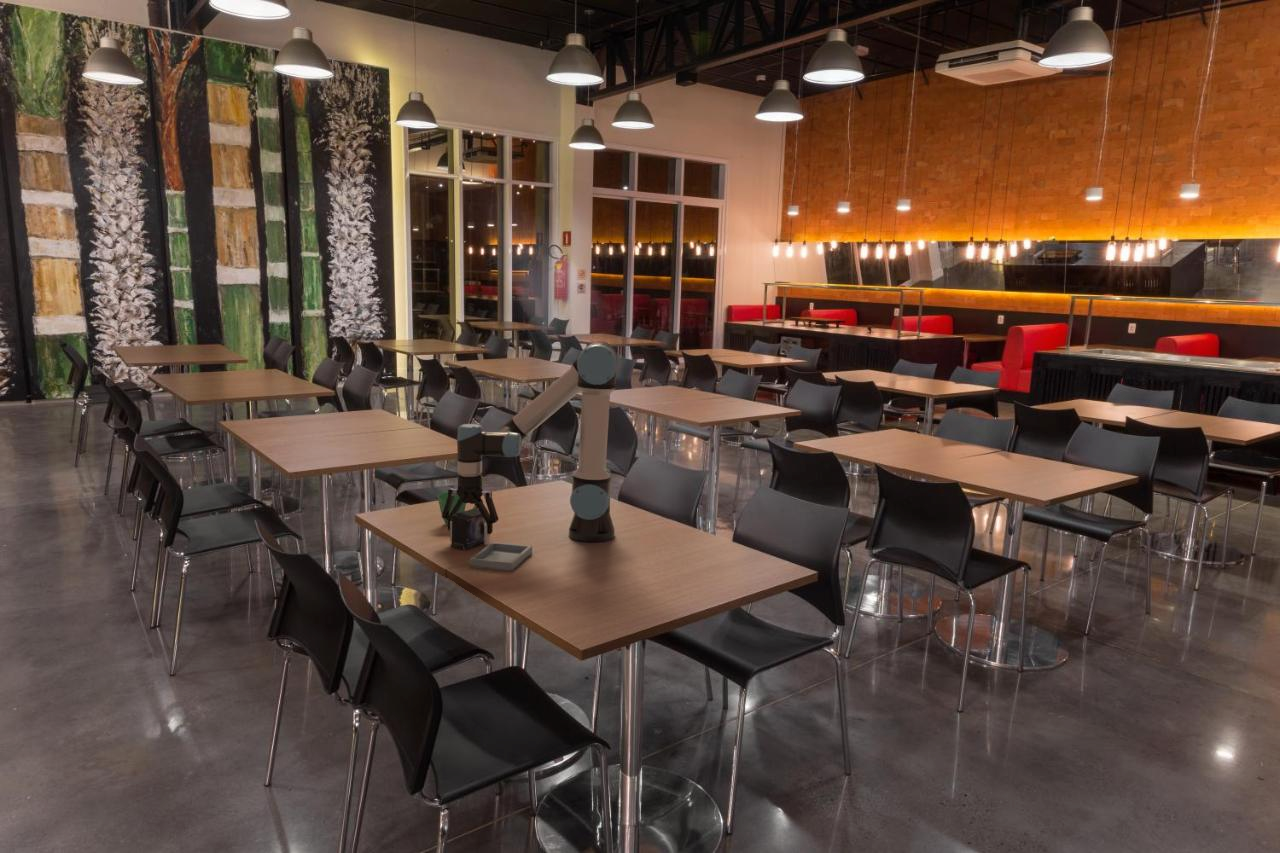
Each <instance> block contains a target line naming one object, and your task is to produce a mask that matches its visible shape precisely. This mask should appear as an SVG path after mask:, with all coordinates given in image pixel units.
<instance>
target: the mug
mask: <svg viewBox="0 0 1280 853" xmlns="http://www.w3.org/2000/svg"><path fill="white" fill-rule="evenodd" d="M447 498H448V492H444V493H440V494H438V496H437V501H438V505H439V510H440V514H441V515H442V513H443V510H444V507H445V504H446V501H447ZM459 498H460V497H459V496H458V494H457V493H456V495H455V497H454V500H453V503H452V506H451V509H450V512H449V514H450V513H451V511H452V510H453V508H454V507H455V505H456V504H457V501H458V500H459ZM466 506H467V503H463V504H462V506H461V507H460V509H459V510H458V512H457V513H460V512H464V511H466ZM474 508H475V509H478V508H477V506H475V505H474V506H473V507H472V508H471V509H474ZM457 513H456V514H457ZM442 519H443V521H444V524H445V526H447V527H448V521H447V519H445V518H442Z"/></svg>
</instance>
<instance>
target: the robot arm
mask: <svg viewBox="0 0 1280 853" xmlns="http://www.w3.org/2000/svg"><path fill="white" fill-rule="evenodd" d="M618 358H619V357H618V354H617V351H616V350H615V348H614V347H613V346H612V345H611V344H610V343H608V342H605V341H593V342H591V343H589V344H587V345H586V346H585V347H584V348H583V349H582V350H581V351H580V352H579V354H578V356H577V357H576V359H575V360H574V361H572V362H571V363H570V368H569V369H568V370H566V372H564V373H563V374H562V375H561V376H560V377H558V378H557V379H556V380H555V381H553V383H551V384H550V385H549V386H548V387H547V388H546V389H545V390H543V391H542V392H541V393H539V394H538V395H537V396H536V397H535V398H534V399H533V400H531V401H530V402H529V403H528V404H527V405H526V406H525V407H524V408H522V409H521V410H520V411H519V412H518V413H516V414H515V415H514V416H512V418H511V419H510V420H508V421H507V422H506V423H505V424H503V425H502V426H501V427H500V428H499V429H498V430H497V431H484V430H483V427H482V425H481V424H478V423H463V424H461V425H459V427H457V436H456V437H457V439H456V444H457V445H456V446H457V447H456V448H457V474H458V475H457V488H454V487H451V488H449V489H448V490H447V493H448V498H447V501H446V504H445V507H444V510H443V513H442V514H441V518H442V519H443V518H445V519H447V521H448V526H447V530H448V531H450V532H449V533H450V534H449V538H450V539H449V540H450V542H452V515H453V514H456V513H457V512H458V510H459V509H460V507H461V506H462V504H463V503H466V504H471V505H474V506H477V508H478V509H479V511H480V513H481V514H482V516H483V518H484V519H485V521H486V524H485V525H484V544H483V545H484V546H488V545H489V544H490V543H491V534H492V533H493V530H494V527H493V524H496V523H497V522H499V521H500V520H499V517H498V516H499V515H498V512H497V510H496V507H495V504H494V501H493V492H492V491H491V490H489V491H486V490H485V491H484V490H483V475H482V473H483V456H484V457H487V456H488V457H505V458H510V457H519V456H520V455H521V452H522V441H523V440H524V439H526V438H527V437H528V436H529V435H530V434H532V433H533V432H534V431H535V429H536V430H537V428H538V427H539V426H541V425H542V424H543V423H544V422H545V421H546V420H548V419H549V418H550V417H551V416H552V415H554V414H555V413H556V412H558V410H560V409H561V408H562V407H563V406H564V405H566V404H567V403H568V402H570V401H571V399H572V398H574V397H575V396H576V395H578V394H579V392H581V403H580V404H581V408H580V427H579V441H578V442H579V443H578V444H579V447H578V464H577V468H576V469H575V471H574V472H572V483H571V484H572V485H571V486H572V487H571V495H570V497H569V502H570V507H571V509H572V511H573V517H572V520H571V522H570V525H569V527H568V528H569V529H568V536H569V538H570V539H572V540H575V541H578V542H583V543H600V542H601V543H602V542H606V541H609V540H612V539H614V538H615V534H616V533H615V532H616V531H615V526H614V523H613V520H612V517H611V481H612V480H611V479H612V476H611V475H612V473H611V470H610V469H609V468H606V467H607V452H608V451H607V450H608V437H609V436H608V435H609V434H608V433H609V422H610V421H609V419H610V405H611V404H610V402H611V394H612V393H613V392H614V391H615V390H616V383H617V371H618V370H617V368H618V362H619V361H618V360H619V359H618ZM456 493H457V494H458V496H459V497H460V498H459V500H458V501H457V504H456V505H455V507H454V508H453V510H452V511H451V513H450V514H449V512H450V509H451V506H452V503H453V500H454V497H455V495H456ZM482 496H483V498H484V500H485V504H486V506H485V504H484V501H483V499H482Z"/></svg>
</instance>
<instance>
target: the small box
mask: <svg viewBox="0 0 1280 853" xmlns="http://www.w3.org/2000/svg"><path fill="white" fill-rule="evenodd" d="M485 524H486V521H485V519H484V518H483V516H482V514H481V513H480V511H479V509H475V508H474V509H472V508H471V509H466V510H465V511H464V512H460V513H457V514H453V515H452V541H451V547H452V548H456V549H460V550H463V551H467V550H469V549H473V548H476V547H480V546H482V545H484V525H485Z"/></svg>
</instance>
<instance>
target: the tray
mask: <svg viewBox="0 0 1280 853" xmlns="http://www.w3.org/2000/svg"><path fill="white" fill-rule="evenodd" d="M531 555H533V545H525V544H517V543H516V544H515V543H506V542H499V541H497V542H496V541H492V542H490V543H489V544H487V545H486V546H485V547H484V548H482V550H480V551H479V552H477V553H476V554H475V555H474V556H472V557H471V558H470V560H469V565H470V566H469V567H470V568H474V569H483V570H484V569H485V570H493V571H494V570H495V571H503V572H504V571H505V572H511V573H512V572H514V571H515V570H516V569H517V568H518V567H519V566H520V565H522V564H523V563H524V562H525V561H527V559H528V558H529V557H530V556H531Z"/></svg>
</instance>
